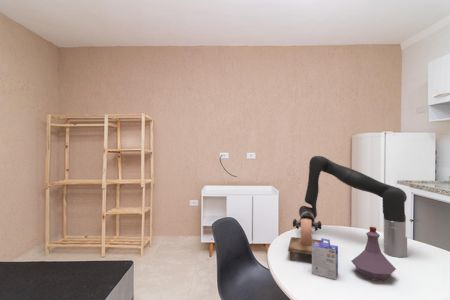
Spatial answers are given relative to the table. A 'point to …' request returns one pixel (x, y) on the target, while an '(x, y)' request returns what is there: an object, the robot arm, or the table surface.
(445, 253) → the table surface
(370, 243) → the flask
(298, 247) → the walnut stand
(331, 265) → the ink cartridge box
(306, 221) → the peach cylinder
